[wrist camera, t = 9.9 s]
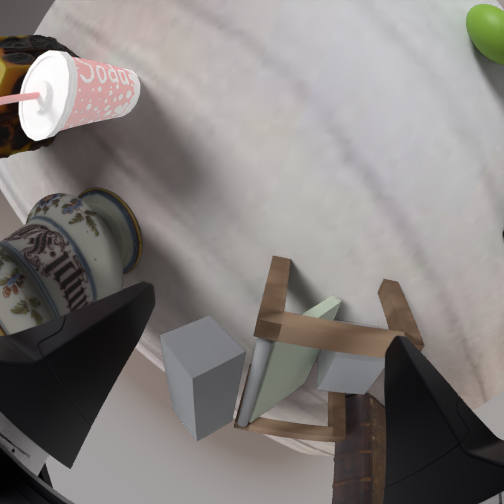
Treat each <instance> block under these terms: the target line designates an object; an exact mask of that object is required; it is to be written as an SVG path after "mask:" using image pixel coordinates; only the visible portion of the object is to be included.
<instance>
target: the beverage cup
mask: <svg viewBox="0 0 504 504" xmlns="http://www.w3.org/2000/svg"><path fill="white" fill-rule="evenodd" d="M139 95H140V82H139V79H138V76H137V75H136V74H135V73H134V72H133V71H132V70H128V69H124V68H121V67H117V66H113V65H109V64H105V63H100V62H96V61H91V60H86V59H81V58H76V57H71V56H70V55H69V54H68V52H62V51H51V50H49V51H47V52H46V53H44V54H42V55H40V56H39V57H38V58H37V59H36V61H35V62H34V63H33V64H32V65H31V67H30V68H29V70H28V72H27V74H26V76H25V79H24V81H23V84H22V88H21V92H20V94H17V95H10V96H4V97H0V105H2V104H8V103H14V102H19V117H20V122H21V126H22V128H23V130H24V132H25V133H26V135H27V137H29V138H31V139H33V140H35V141H38V140H42V139H46V138H49V137H52V136H54V135H56V134H57V133H58V132H59V131H61V130H64V129H68V128H72V127H76V126H80V125H84V124H88V123H92V122H97V121H102V120H107V119H112V118H117V117H123V116H124V115H126V114H127V113H129V112H130V111H131V110H132V109H133V107H134V106H135V105H136V103H137V101H138V98H139Z"/></svg>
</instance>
